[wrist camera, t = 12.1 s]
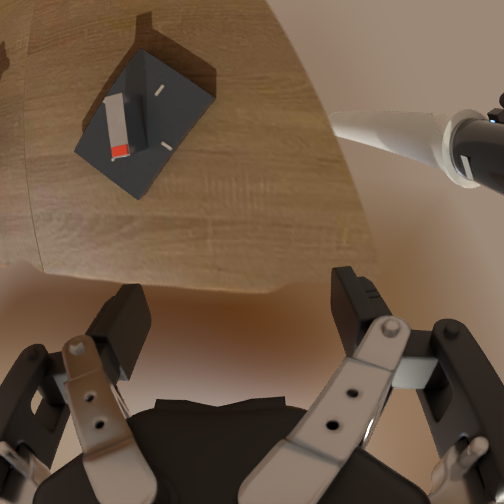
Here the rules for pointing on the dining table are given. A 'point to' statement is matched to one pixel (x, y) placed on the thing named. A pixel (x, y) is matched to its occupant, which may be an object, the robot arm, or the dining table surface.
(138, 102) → the tap handle
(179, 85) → the base
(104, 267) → the dining table surface
